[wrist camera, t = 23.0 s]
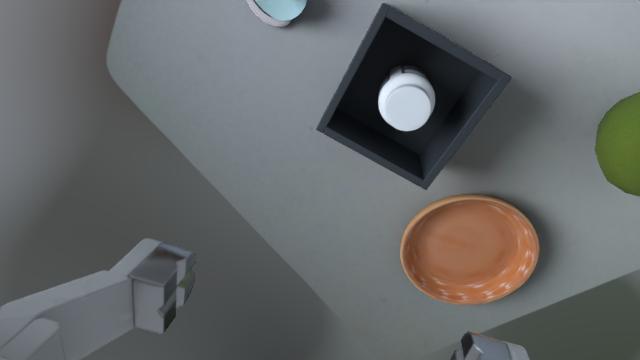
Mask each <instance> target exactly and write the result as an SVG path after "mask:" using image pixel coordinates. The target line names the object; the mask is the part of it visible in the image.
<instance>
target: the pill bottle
mask: <svg viewBox="0 0 640 360" xmlns="http://www.w3.org/2000/svg"><path fill="white" fill-rule="evenodd" d="M378 106H379V111H380V113H381V115H382V117H383V118H384V120H385V121H386V122H387V123H388V124H390V125H391V126H393V127H394V128H396V129H398V130H401V131H412V130H416V129H418V128H420V127H421V126H423V125H424V124H425V123H426V121H427V120H428V118H429V117H430V115H431V114H432V112H433V109H434V106H435V93H434V90H433V87H432V85H431V84H430V82H429V80H428V77H427V76H426V74H425V73H424V72H423V71H422V70H421V69H420V68H418V67H416V66H413V65H400V66H397V67H395V68H393V69H391V70H390V71H389V72H387V73H386V75H385V76H384V77H383V79H382V81H381V84H380V89H379V97H378Z"/></svg>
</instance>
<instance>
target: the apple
mask: <svg viewBox="0 0 640 360" xmlns="http://www.w3.org/2000/svg"><path fill="white" fill-rule="evenodd" d="M595 152H596V155H597V158H598V161H599V164H600V167H601V169H602V171H603V173H604V175H605V177H606V179H607V181H609V182H610V183H612V184H613V185H615V186H616V187H618V188H619V189H621V190H622V191H624V192H625V193H629V194H633V195H637V196H640V92H639V93H636V94H634V95H632V96H629V97H627V98H624V99H622V100H620V101H619V102H618V103H617V104H616V105H614V106H613V107H612V108H611V109H610V110H609V111H608V112H607V113H606V114H605V116H604V118H603V119H602V121H601V122H600V124H599V125H598V131H597V139H596V147H595Z"/></svg>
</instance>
